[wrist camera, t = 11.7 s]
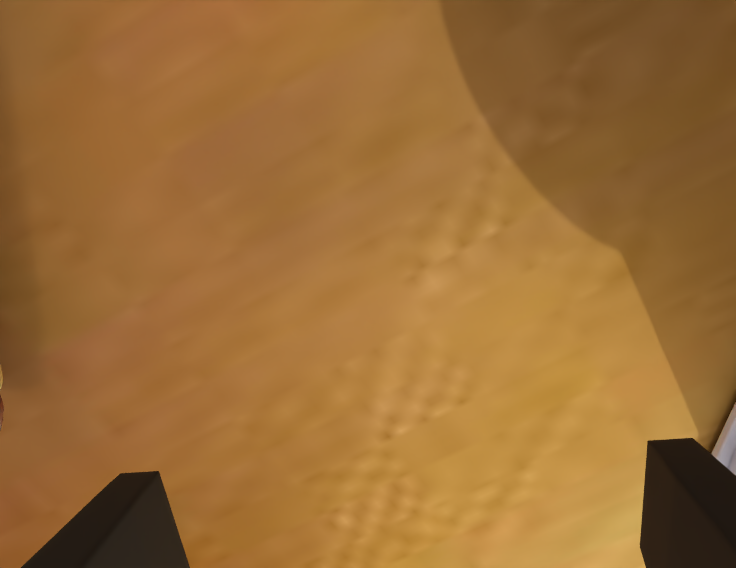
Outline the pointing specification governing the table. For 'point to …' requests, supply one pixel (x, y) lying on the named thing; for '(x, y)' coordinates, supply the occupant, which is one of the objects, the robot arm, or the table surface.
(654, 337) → the table surface
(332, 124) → the table surface
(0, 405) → the sauce bottle
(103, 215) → the table surface
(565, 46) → the table surface
